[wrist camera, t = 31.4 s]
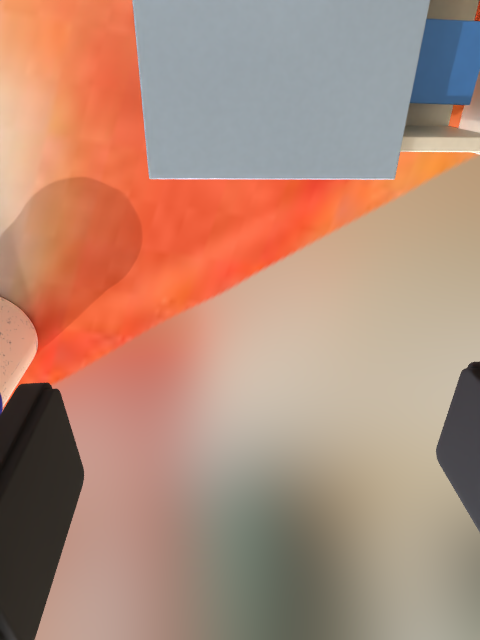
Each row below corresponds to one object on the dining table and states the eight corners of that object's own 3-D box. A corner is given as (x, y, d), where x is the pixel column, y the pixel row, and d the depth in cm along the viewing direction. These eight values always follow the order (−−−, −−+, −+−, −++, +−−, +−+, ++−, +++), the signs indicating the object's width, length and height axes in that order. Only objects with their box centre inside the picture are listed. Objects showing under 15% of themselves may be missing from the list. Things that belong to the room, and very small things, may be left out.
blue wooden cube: (393, 25, 25) (421, 18, 22) (455, 28, 26) (493, 21, 22) (380, 99, 27) (404, 103, 24) (438, 101, 28) (470, 105, 24)
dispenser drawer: (602, -35, 25) (730, -70, 19) (537, 147, 31) (621, 166, 24) (316, -45, 24) (352, -86, 18) (300, 145, 30) (324, 165, 23)
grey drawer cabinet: (376, -52, 25) (452, -109, 17) (348, 153, 31) (395, 179, 23) (149, -60, 24) (120, -124, 16) (164, 152, 30) (149, 179, 22)
